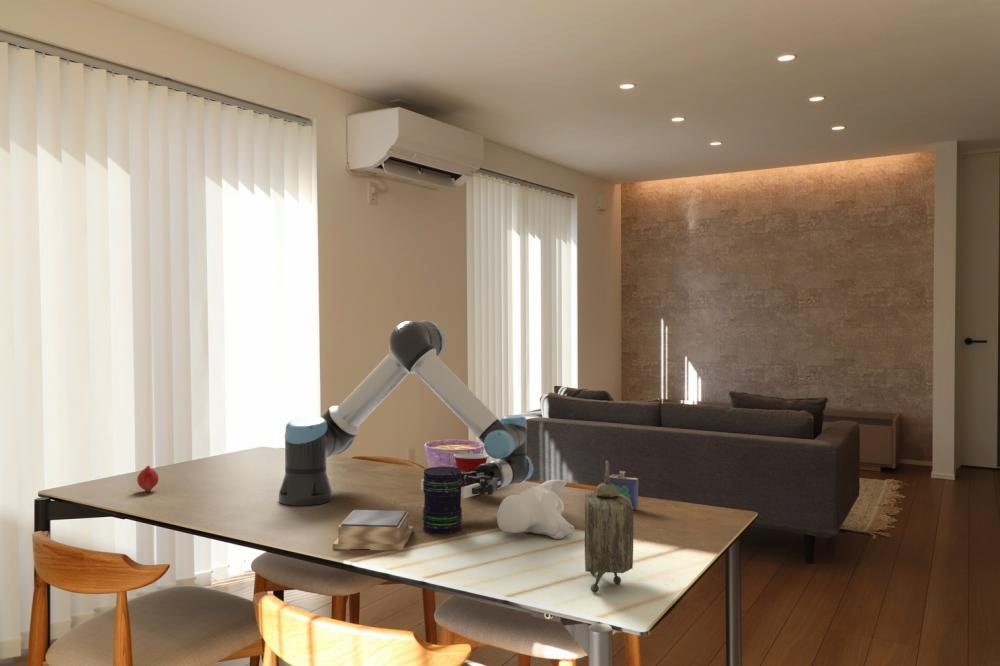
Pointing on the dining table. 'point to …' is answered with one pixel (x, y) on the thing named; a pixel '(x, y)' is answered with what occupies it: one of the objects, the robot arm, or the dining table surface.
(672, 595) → the dining table surface
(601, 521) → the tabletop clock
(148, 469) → the onion
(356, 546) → the plinth
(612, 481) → the flask
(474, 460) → the plastic cup
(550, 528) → the fox head
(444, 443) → the bowl of food
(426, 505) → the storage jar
